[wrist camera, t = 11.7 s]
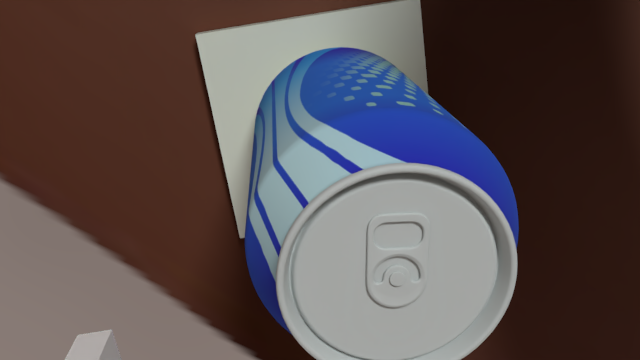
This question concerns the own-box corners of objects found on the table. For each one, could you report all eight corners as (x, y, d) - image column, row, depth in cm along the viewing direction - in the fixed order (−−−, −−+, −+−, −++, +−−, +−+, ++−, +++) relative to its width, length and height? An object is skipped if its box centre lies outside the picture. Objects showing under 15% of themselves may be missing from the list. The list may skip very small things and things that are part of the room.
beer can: (450, 111, 31) (614, 252, 16) (347, 229, 33) (410, 452, 18) (324, 7, 29) (383, 60, 14) (222, 140, 31) (177, 311, 16)
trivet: (197, 32, 30) (195, 34, 29) (416, -3, 30) (419, -2, 29) (240, 231, 34) (239, 238, 33) (434, 198, 34) (437, 204, 33)
